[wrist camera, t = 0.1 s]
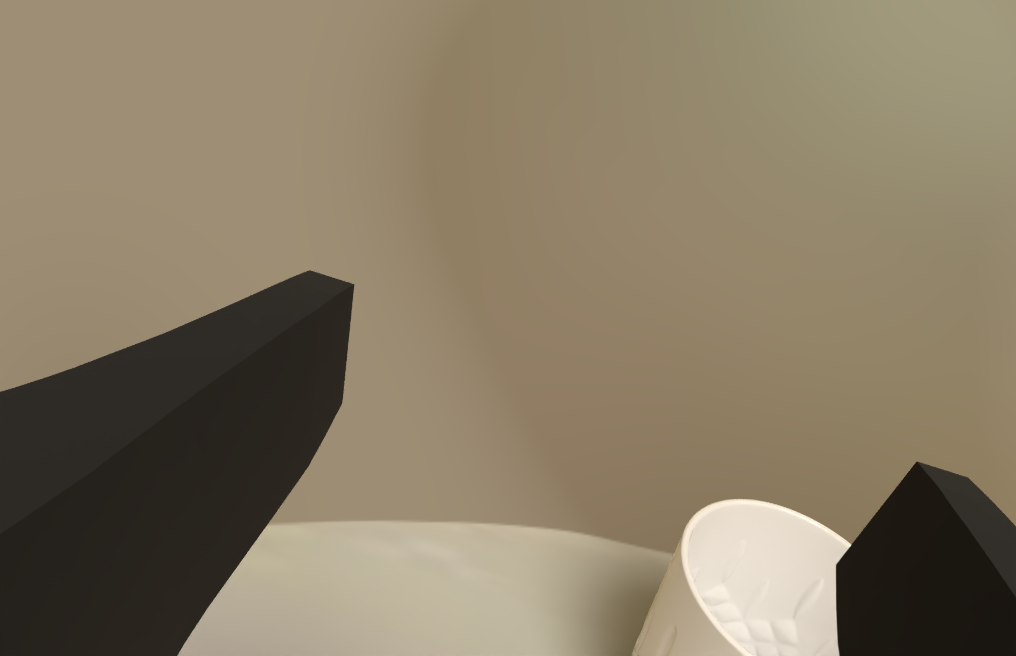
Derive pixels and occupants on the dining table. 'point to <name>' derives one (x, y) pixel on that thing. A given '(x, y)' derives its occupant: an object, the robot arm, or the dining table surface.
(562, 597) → the dining table surface
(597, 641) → the dining table surface
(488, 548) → the dining table surface
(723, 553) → the white cup
